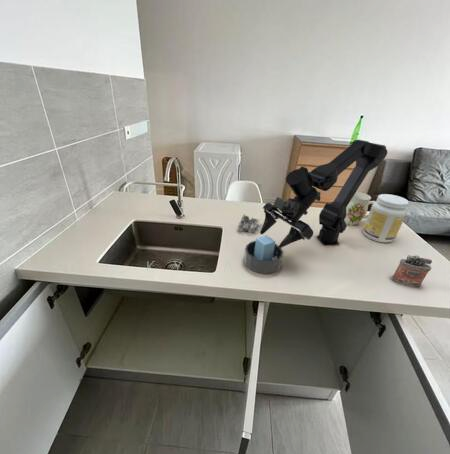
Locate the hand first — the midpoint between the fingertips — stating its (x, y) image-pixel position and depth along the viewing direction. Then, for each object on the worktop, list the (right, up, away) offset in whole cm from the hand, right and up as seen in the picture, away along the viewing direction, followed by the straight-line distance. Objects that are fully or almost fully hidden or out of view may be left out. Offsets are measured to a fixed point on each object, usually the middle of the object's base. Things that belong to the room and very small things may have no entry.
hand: (269, 240), depth 78 cm
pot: (-2, -8, +4) cm, 10 cm away
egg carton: (-5, +4, +25) cm, 26 cm away
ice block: (-2, -8, +4) cm, 9 cm away
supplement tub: (+50, +1, +25) cm, 56 cm away
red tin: (+43, -14, 0) cm, 46 cm away
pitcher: (+45, +8, +35) cm, 57 cm away
